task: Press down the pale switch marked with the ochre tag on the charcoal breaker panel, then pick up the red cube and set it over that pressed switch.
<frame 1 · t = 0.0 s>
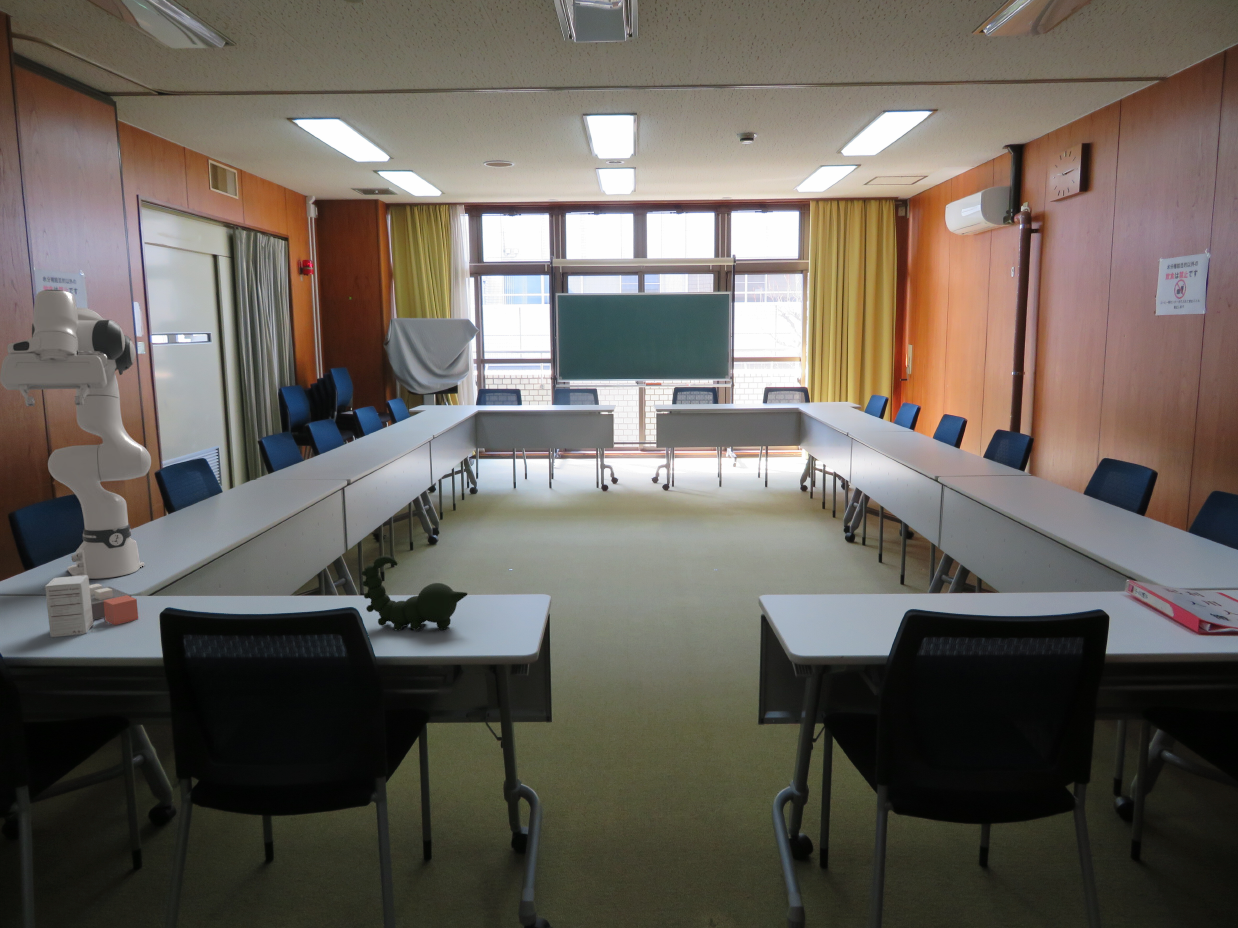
hand: (54, 404, 183), 54 cm above the table, tool tilted 30°, fingers open, 8 cm apart
breaker panel: (100, 610, 206), on the table
toy figurine: (417, 628, 194), on the table
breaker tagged: (104, 597, 204), point 4 cm above the table, slide at 0.0 cm
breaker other: (94, 593, 207), point 4 cm above the table, slide at 0.0 cm
red cube: (121, 619, 199), on the table
supplement box: (72, 631, 191), on the table
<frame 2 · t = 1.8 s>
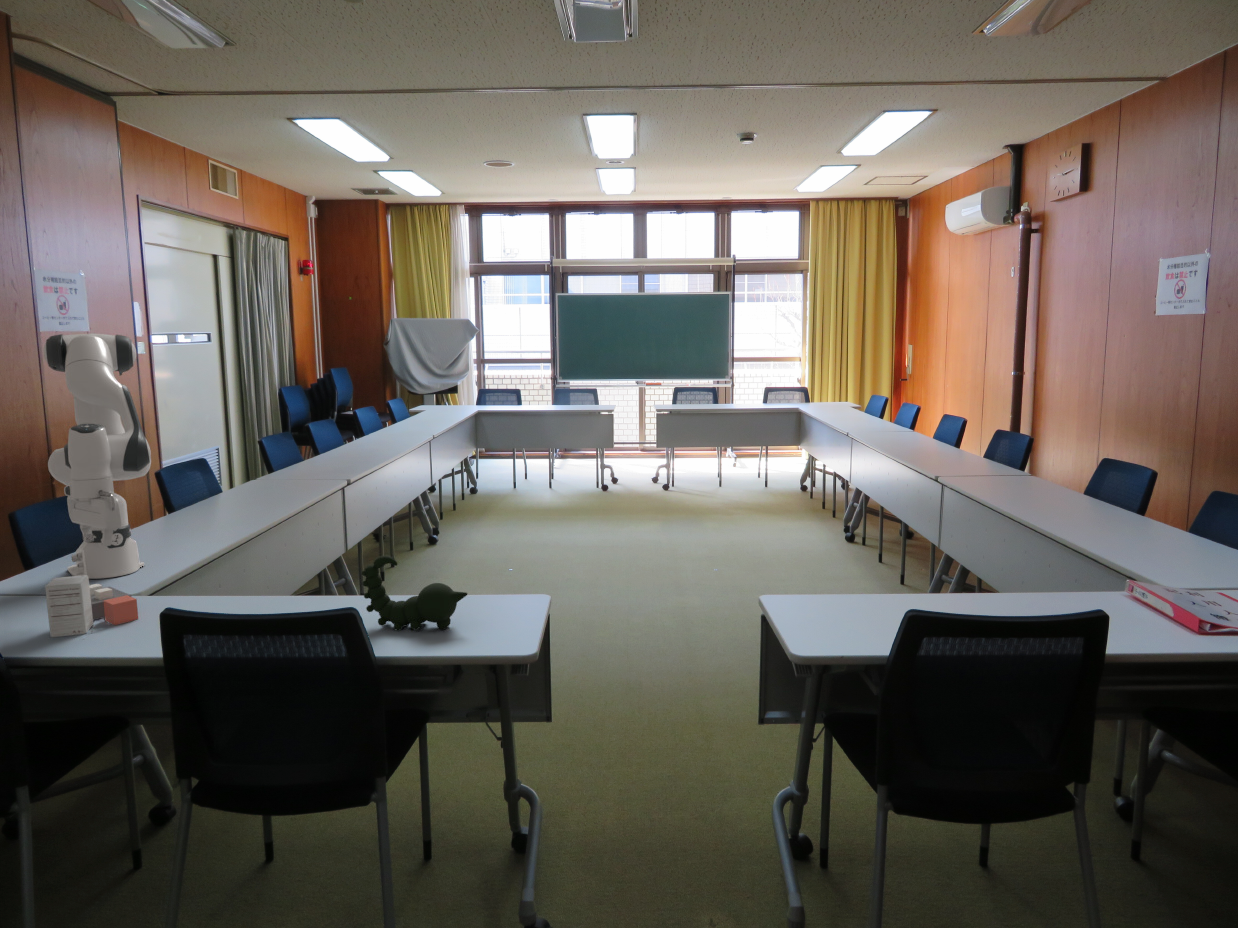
hand: (97, 543, 201), 18 cm above the table, tool pointing down, fingers open, 8 cm apart
nothing on the table moved.
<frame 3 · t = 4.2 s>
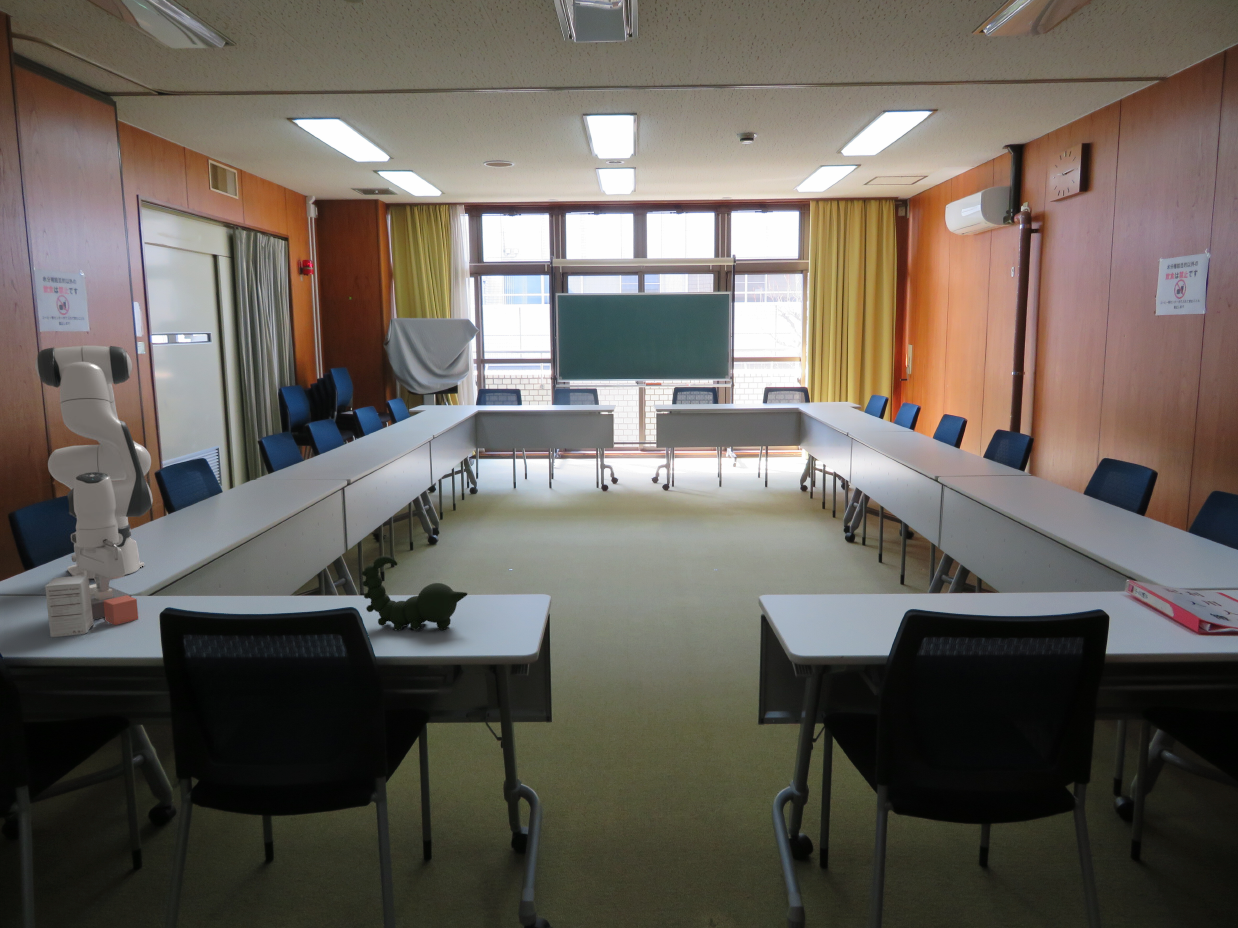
hand: (103, 590, 203), 6 cm above the table, tool pointing down, fingers closed, pressing on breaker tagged
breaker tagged: (104, 597, 204), point 4 cm above the table, slide at 0.0 cm, touching gripper
everything else where it was.
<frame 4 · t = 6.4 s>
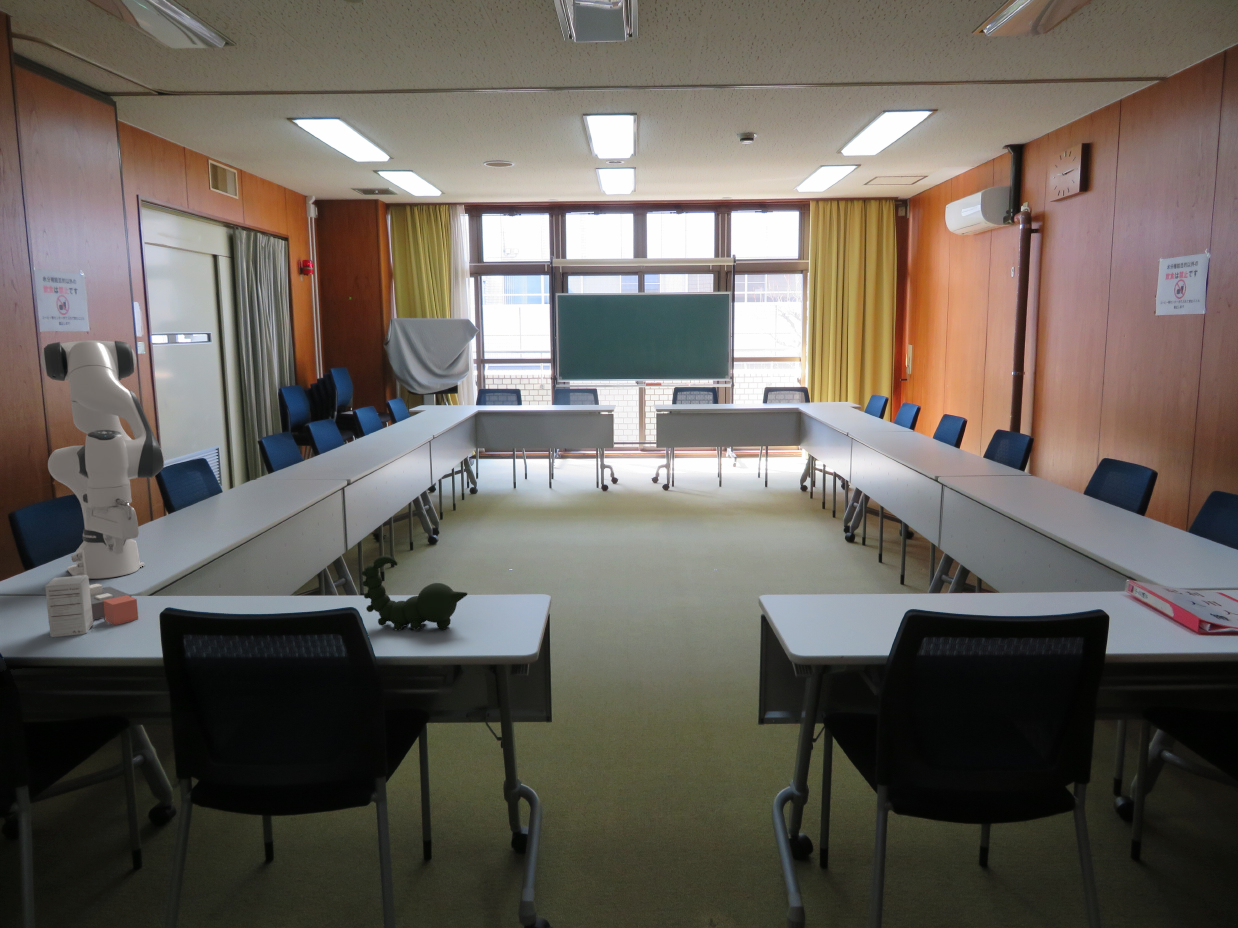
hand: (115, 552, 196), 17 cm above the table, tool pointing down, fingers closed
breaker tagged: (104, 603, 204), point 3 cm above the table, slide at 1.5 cm
everything else where it was.
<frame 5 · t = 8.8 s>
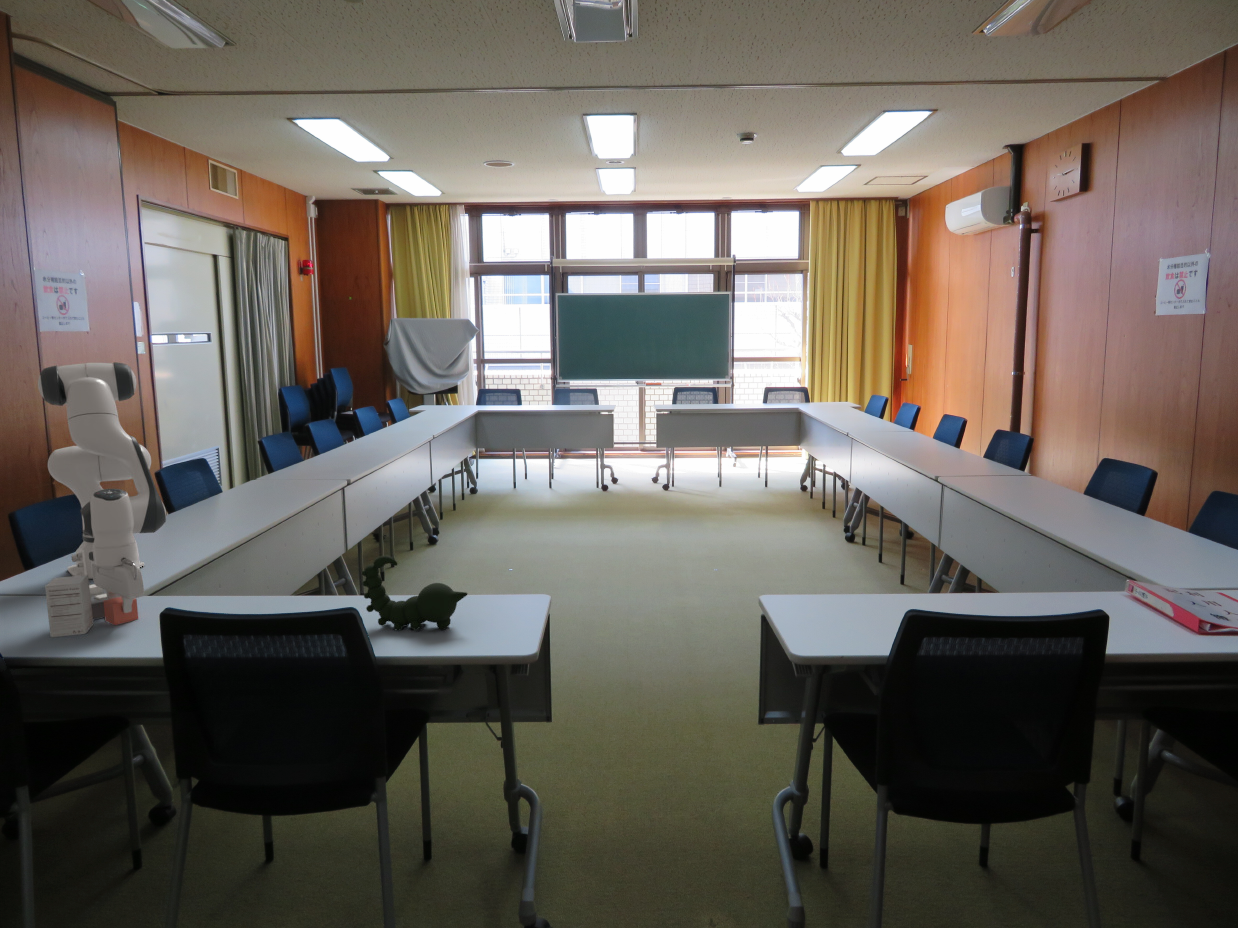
hand: (120, 609, 198), 3 cm above the table, tool pointing down, fingers closed on red cube, 5 cm apart
red cube: (121, 619, 199), on the table, touching gripper
everything else where it was.
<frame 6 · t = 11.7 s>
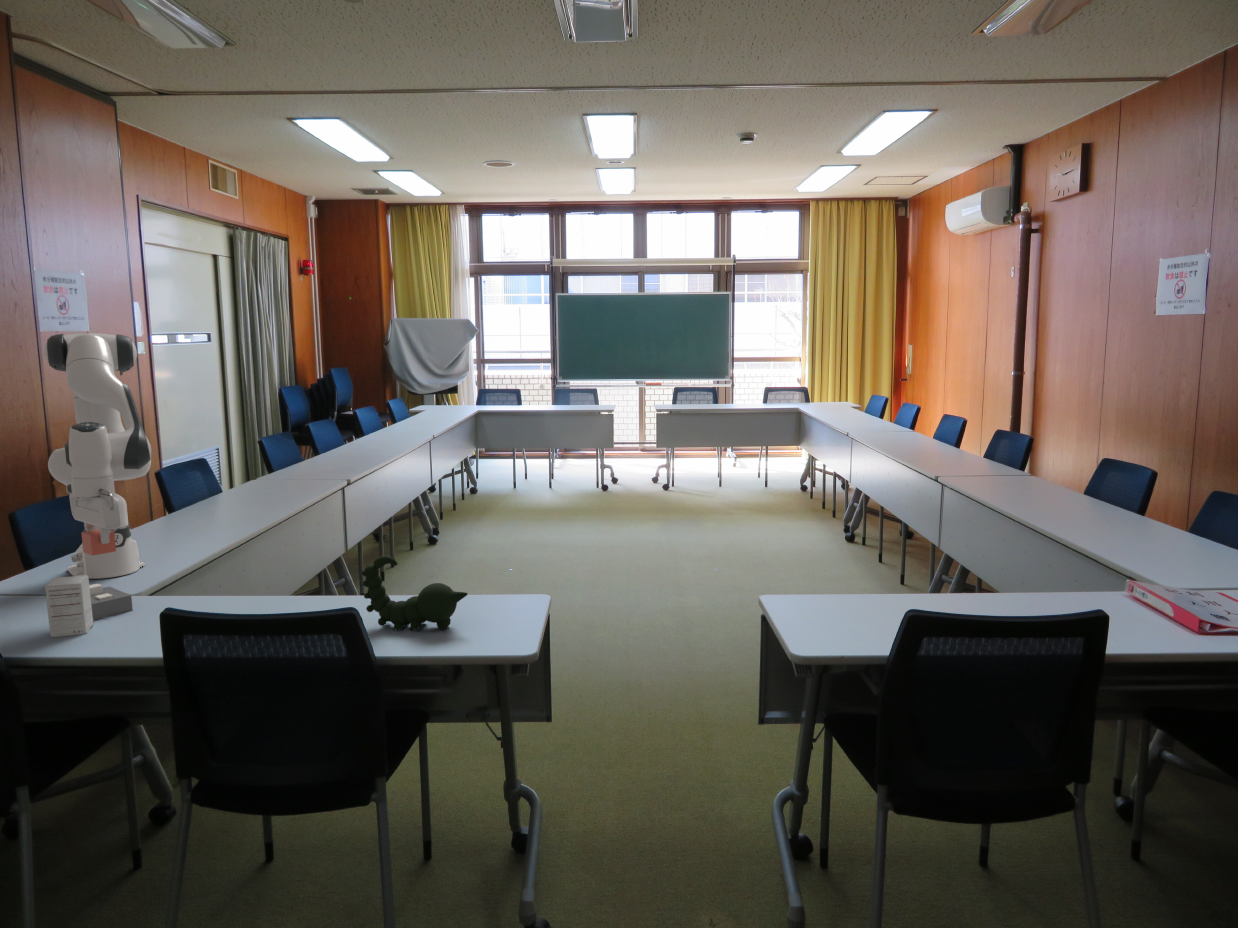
hand: (98, 541, 202), 19 cm above the table, tool pointing down, fingers closed on red cube, 5 cm apart
red cube: (99, 551, 202), point 16 cm above the table, touching gripper
everything else where it was.
when the fingers open (8 cm above the table, at t = 14.5 s): red cube drops 1 cm, resting on breaker panel.
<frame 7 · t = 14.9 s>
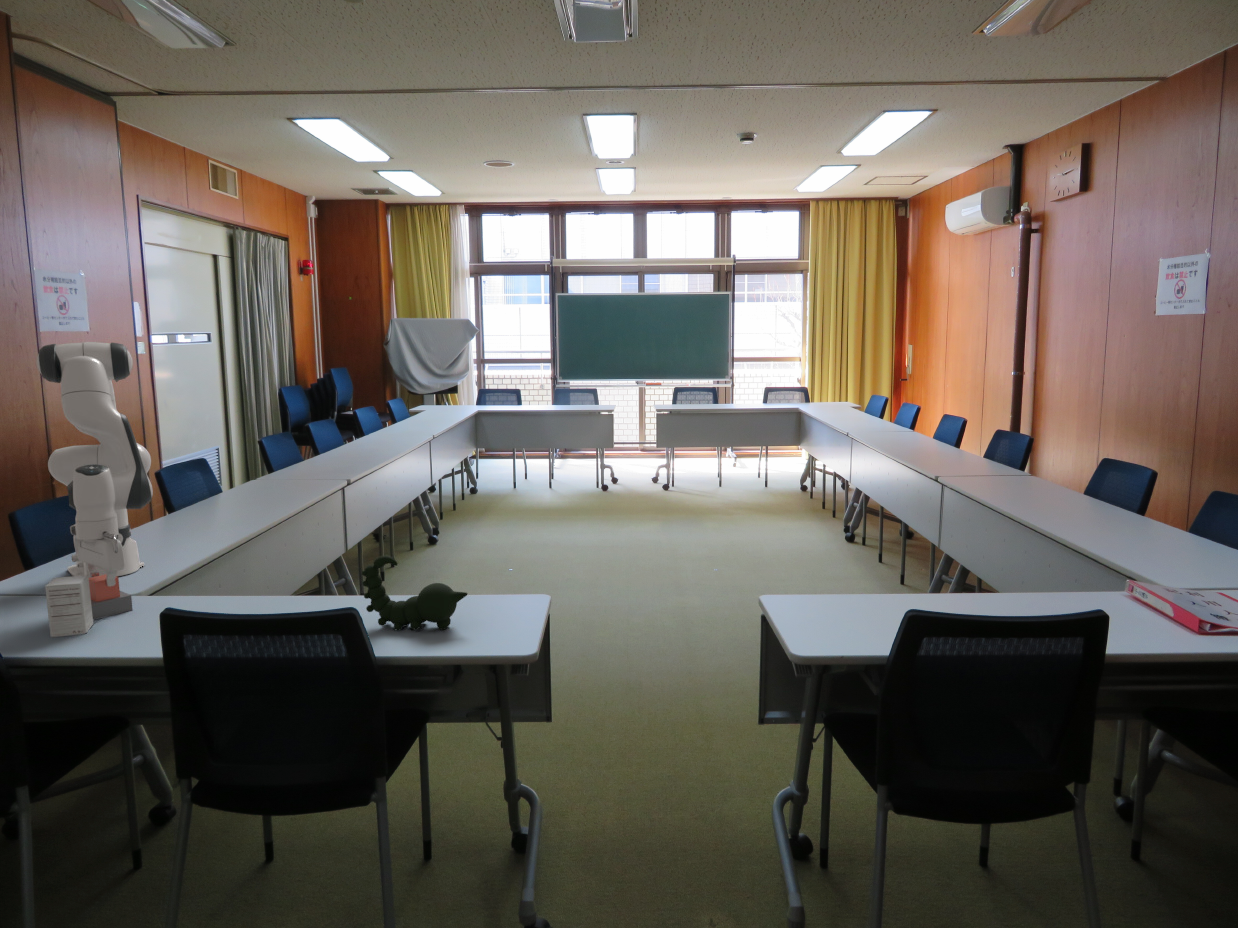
hand: (102, 582, 203), 8 cm above the table, tool pointing down, fingers open, 8 cm apart
red cube: (104, 597, 204), point 4 cm above the table, touching breaker panel
everything else where it was.
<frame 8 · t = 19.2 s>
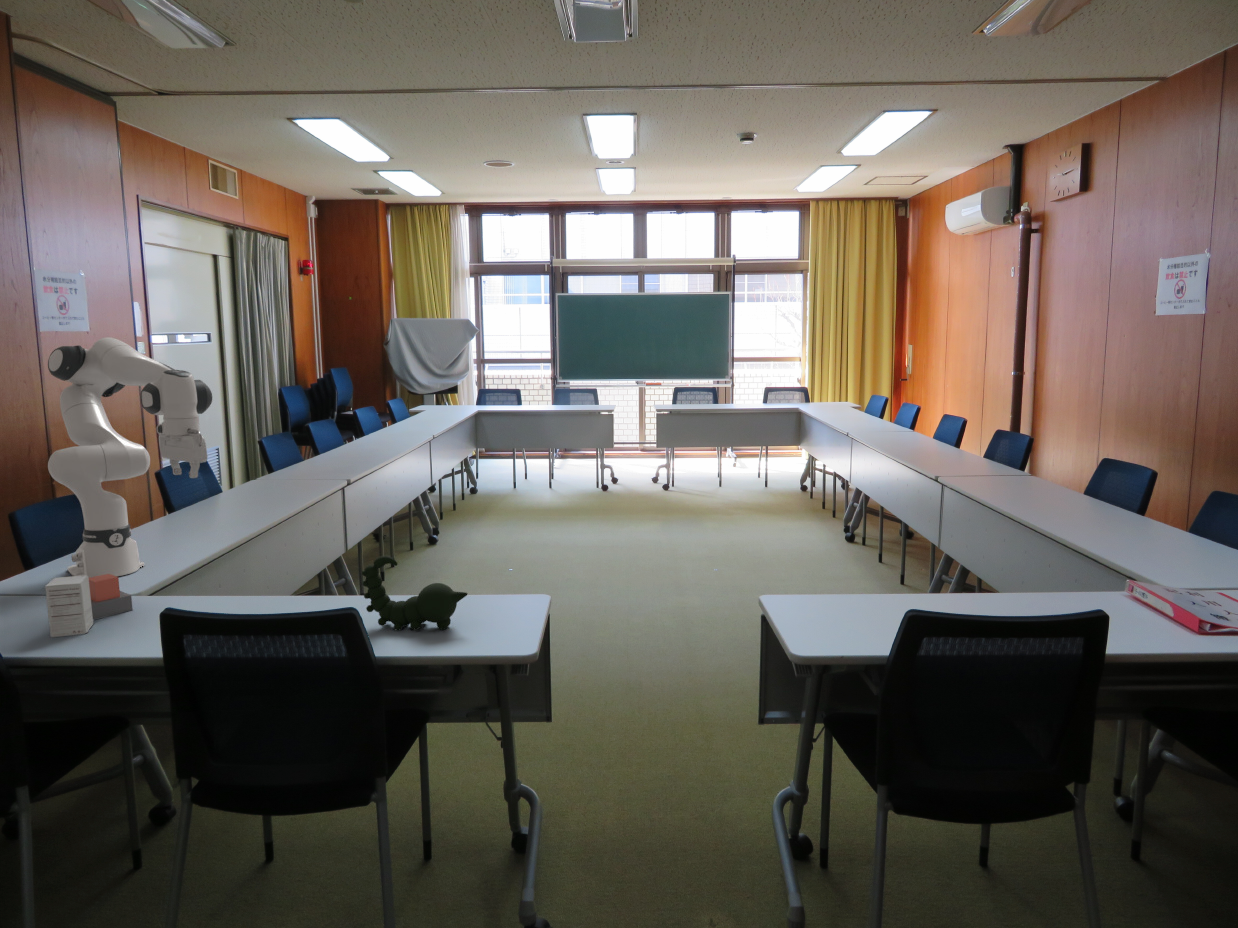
hand: (185, 476, 227), 31 cm above the table, tool pointing down, fingers open, 8 cm apart
nothing on the table moved.
at the end: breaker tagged slide at 1.5 cm; red cube 0.1 cm from the target spot, point 4.0 cm above the table; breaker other slide at 0.0 cm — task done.
